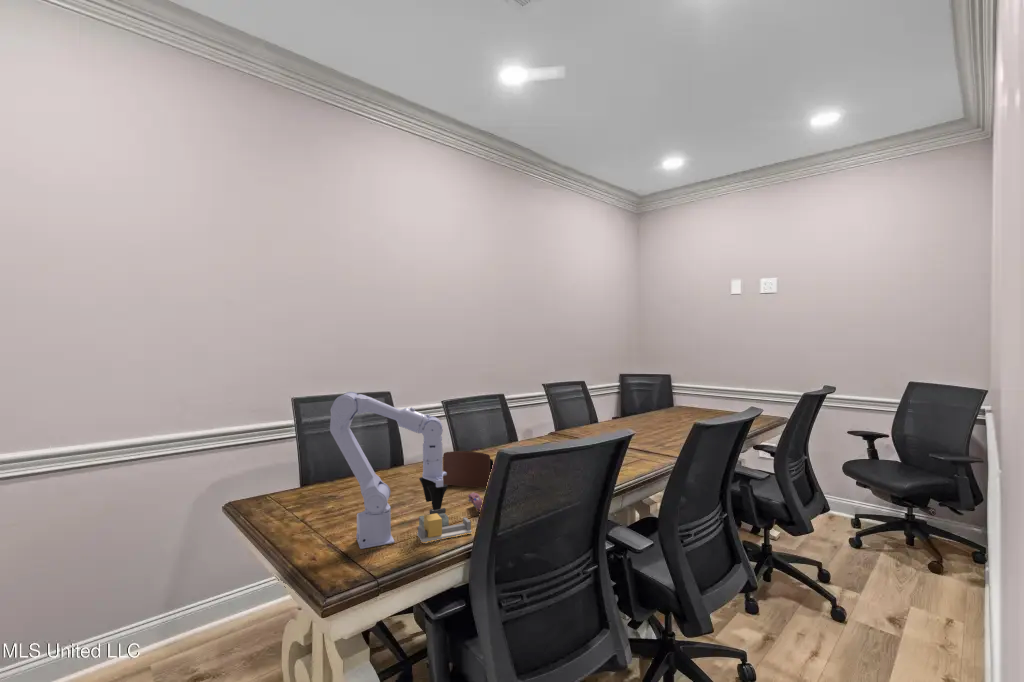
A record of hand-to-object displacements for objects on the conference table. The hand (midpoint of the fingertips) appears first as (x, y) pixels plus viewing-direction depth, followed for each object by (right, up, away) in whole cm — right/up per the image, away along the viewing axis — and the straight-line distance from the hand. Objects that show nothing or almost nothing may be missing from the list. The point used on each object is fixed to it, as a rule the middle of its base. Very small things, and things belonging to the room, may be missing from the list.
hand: (433, 505), depth 138 cm
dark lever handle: (0, -6, +8) cm, 10 cm away
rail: (+3, -9, +1) cm, 10 cm away
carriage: (0, -8, 0) cm, 8 cm away
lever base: (-1, -9, +8) cm, 12 cm away
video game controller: (+12, -10, +22) cm, 27 cm away
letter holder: (+6, -10, +53) cm, 54 cm away
